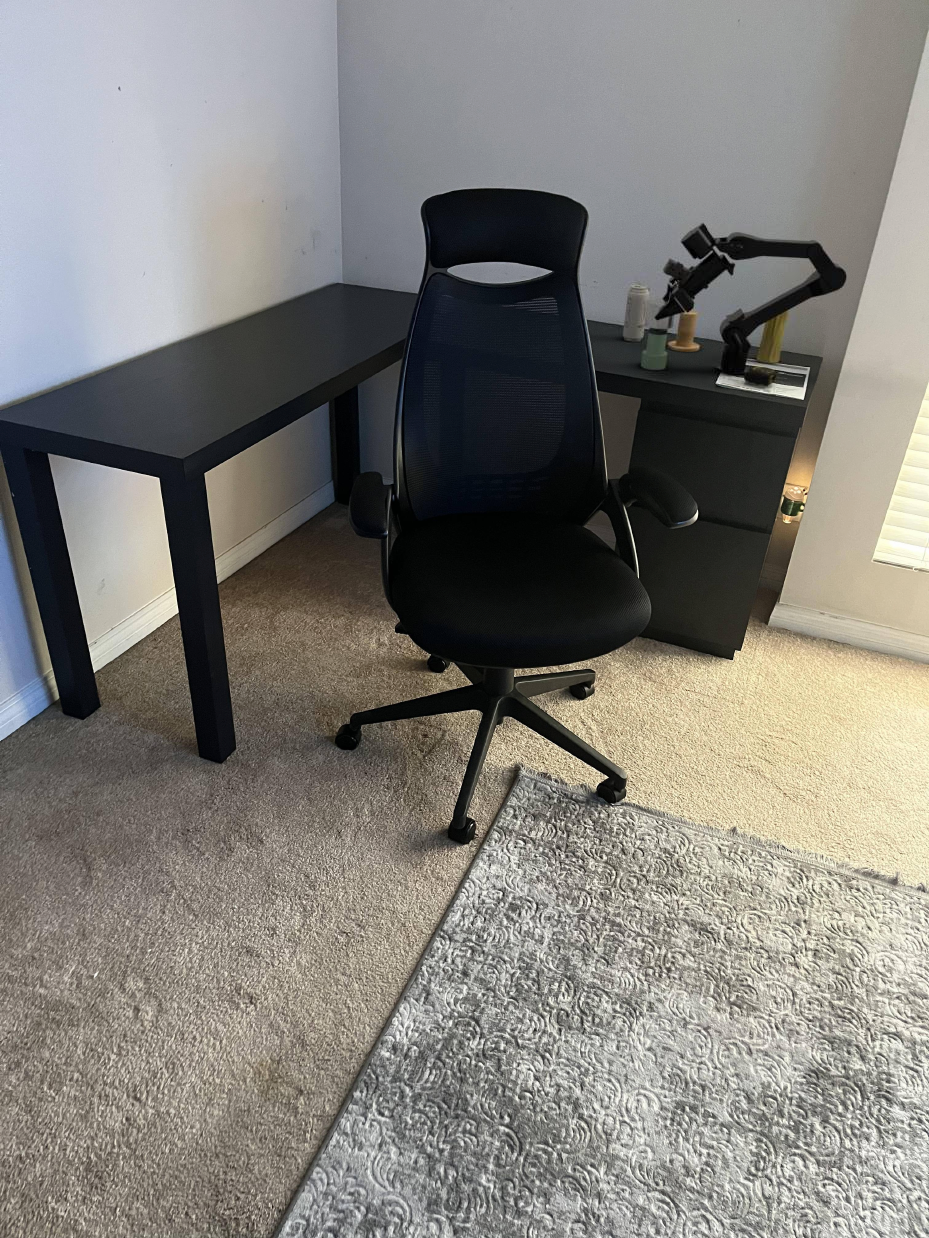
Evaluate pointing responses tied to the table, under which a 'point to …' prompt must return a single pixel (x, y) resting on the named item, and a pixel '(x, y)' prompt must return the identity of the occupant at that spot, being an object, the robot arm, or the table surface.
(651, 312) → the cap
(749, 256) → the robot arm
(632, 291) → the energy drink can
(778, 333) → the vase
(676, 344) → the peg
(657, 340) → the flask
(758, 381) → the tape measure
